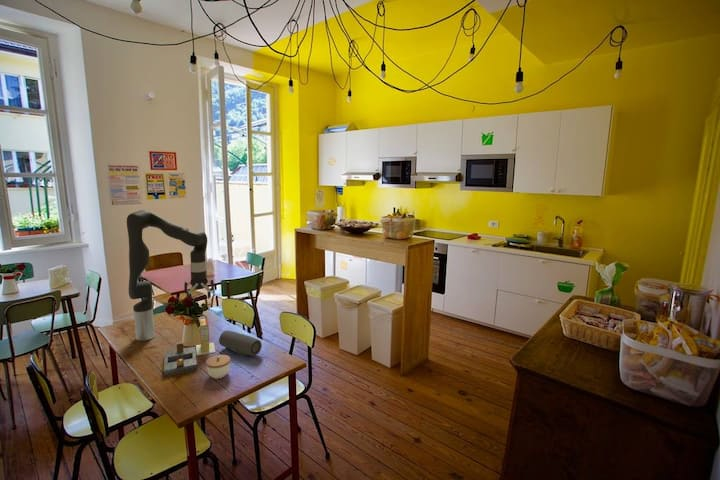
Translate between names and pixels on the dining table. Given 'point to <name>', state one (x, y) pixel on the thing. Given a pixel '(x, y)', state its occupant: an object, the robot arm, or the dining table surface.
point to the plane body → (180, 360)
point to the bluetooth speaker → (240, 343)
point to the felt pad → (211, 350)
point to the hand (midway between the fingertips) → (199, 299)
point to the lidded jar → (218, 366)
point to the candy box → (204, 335)
